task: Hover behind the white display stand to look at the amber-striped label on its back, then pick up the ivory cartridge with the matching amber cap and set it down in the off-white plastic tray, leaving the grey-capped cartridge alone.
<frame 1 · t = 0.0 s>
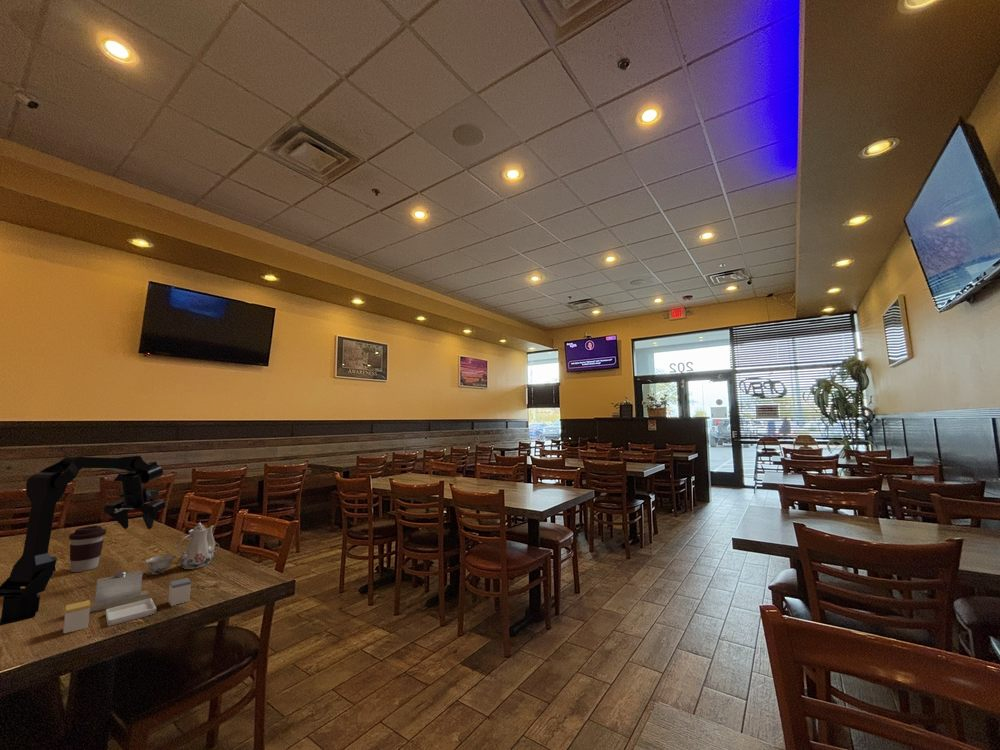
hand: (138, 528, 151), 15 cm above the table, tool pointing down, fingers open, 9 cm apart
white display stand: (117, 603, 123), on the table
amber cartridge: (75, 628, 109), on the table
grey cartridge: (178, 602, 124), on the table
chinaware: (189, 566, 156), on the table
coffee cup: (84, 569, 152), on the table
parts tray: (130, 614, 116), on the table
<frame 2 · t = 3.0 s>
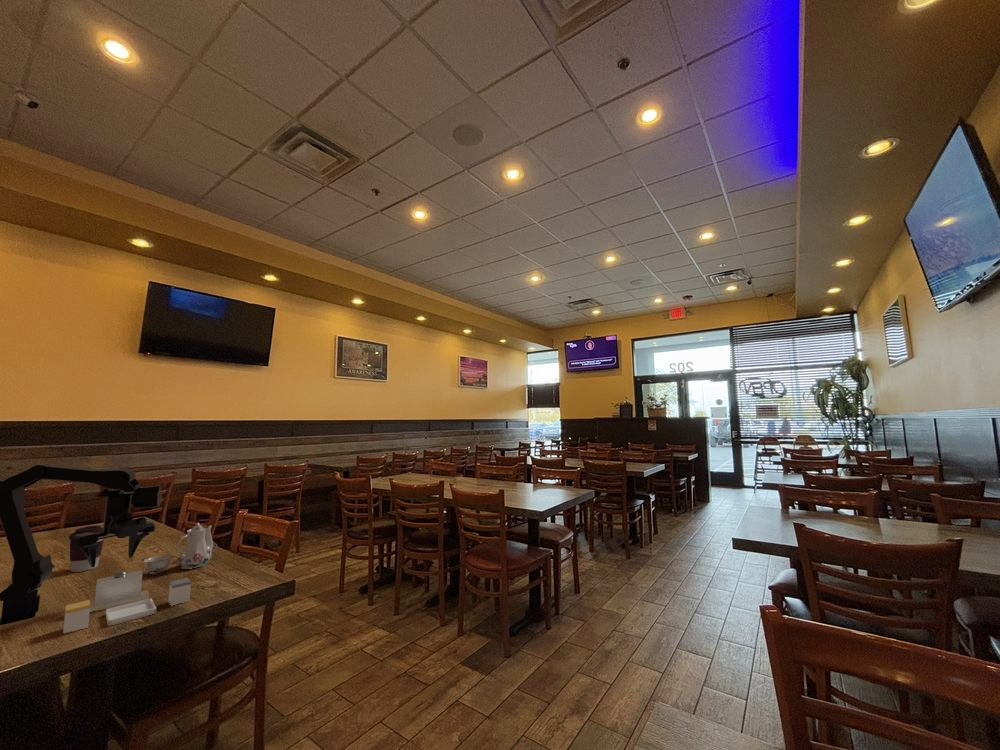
hand: (112, 562, 125), 12 cm above the table, tool pointing down, fingers open, 9 cm apart
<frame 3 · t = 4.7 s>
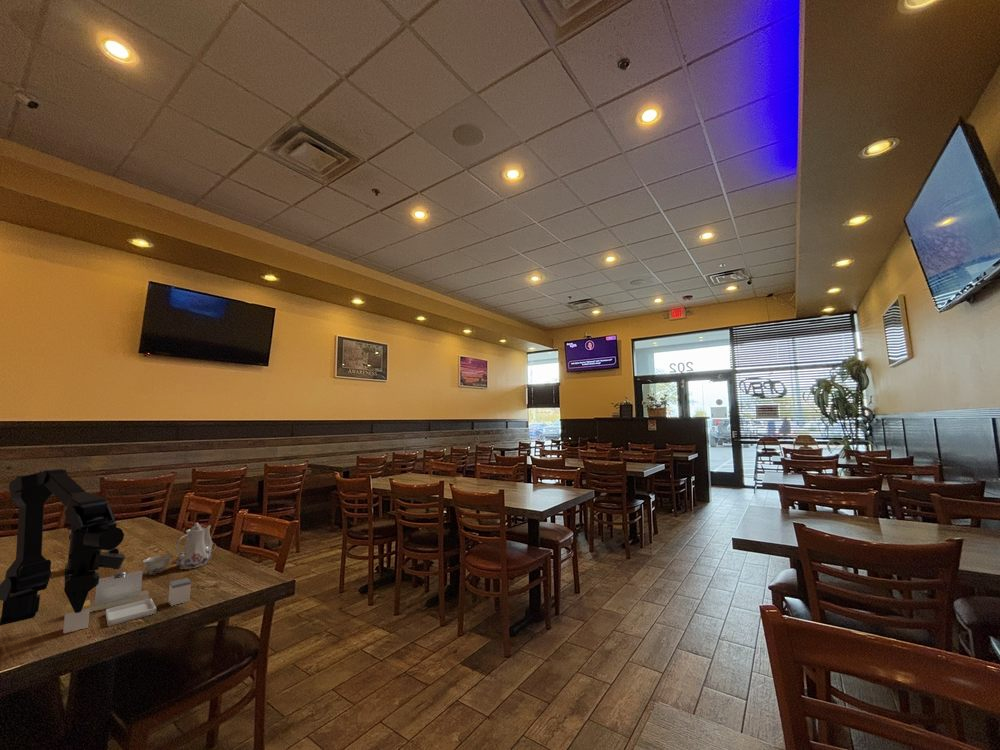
hand: (77, 606, 109), 5 cm above the table, tool pointing down, fingers open, 9 cm apart
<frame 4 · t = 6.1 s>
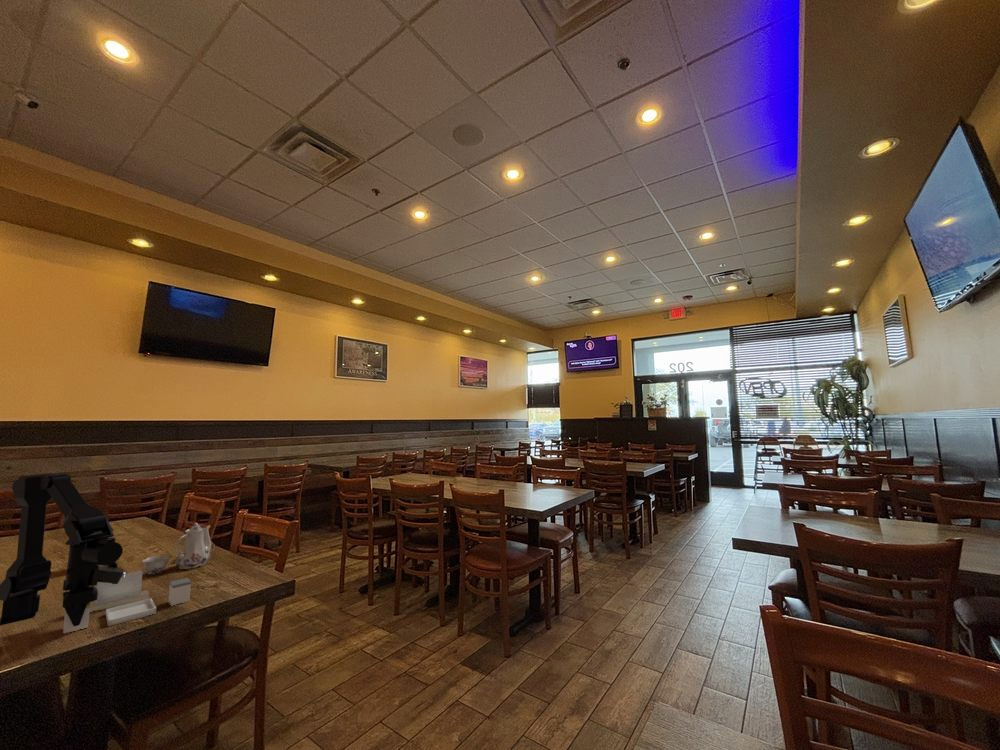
hand: (76, 622, 109), 2 cm above the table, tool pointing down, fingers closed on amber cartridge, 4 cm apart
amber cartridge: (75, 628, 109), on the table, touching gripper
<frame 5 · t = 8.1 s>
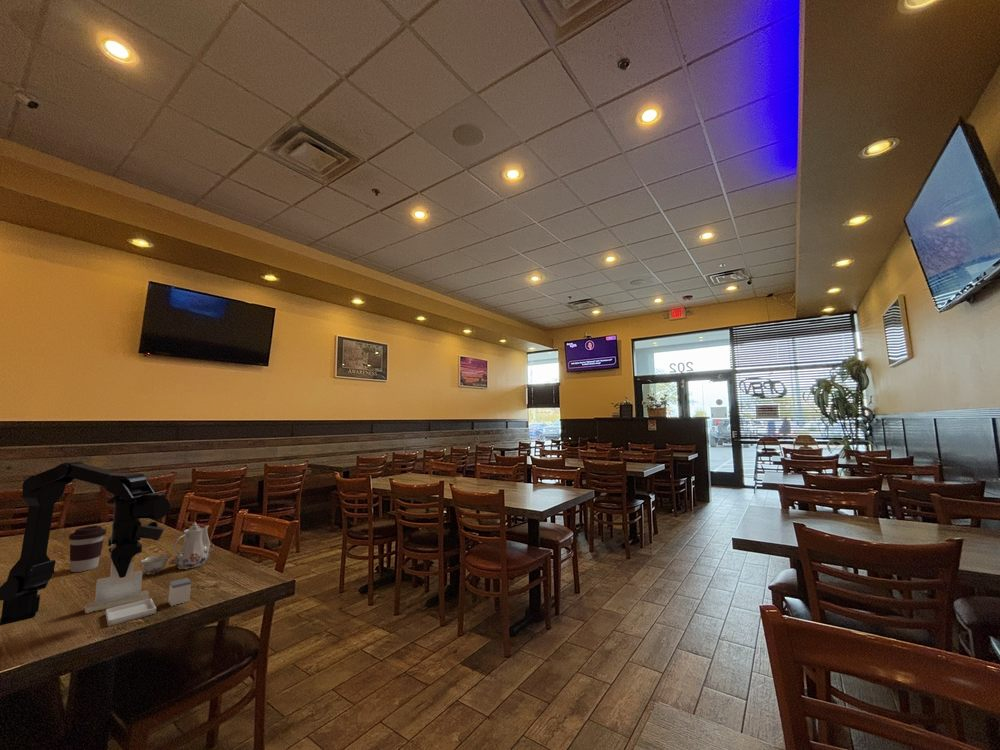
hand: (121, 575, 116), 12 cm above the table, tool pointing down, fingers closed on amber cartridge, 4 cm apart
amber cartridge: (121, 580, 115), point 10 cm above the table, touching gripper
when the fingers open (3 cm above the table, at t = 10.1 s): amber cartridge drops 1 cm, resting on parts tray.
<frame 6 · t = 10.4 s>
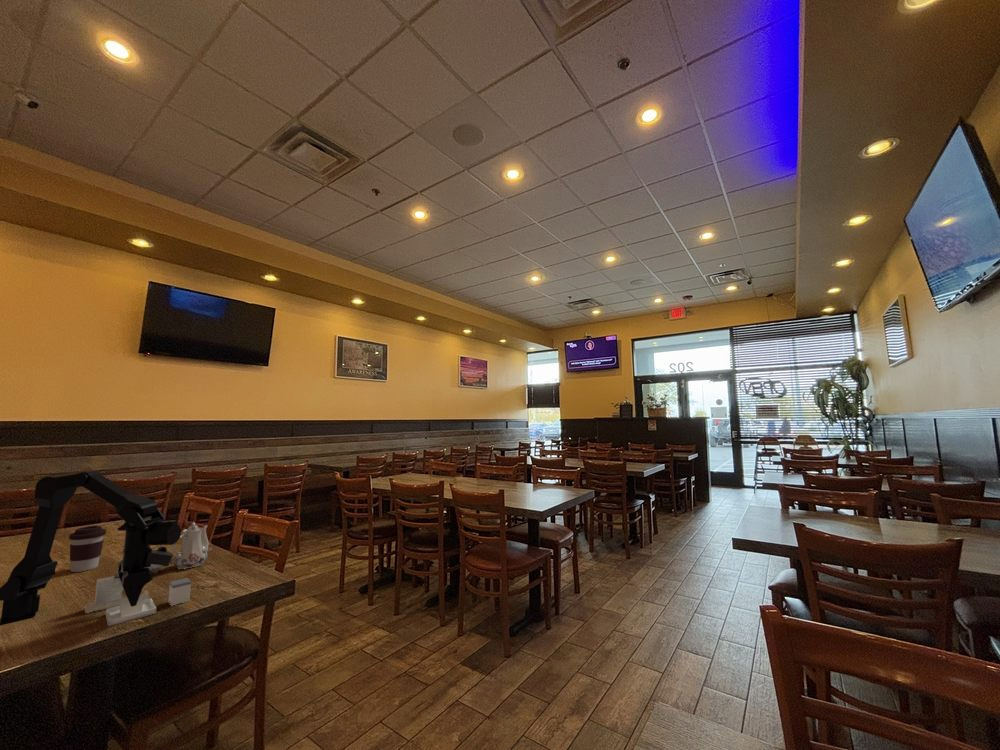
hand: (131, 601, 117), 3 cm above the table, tool pointing down, fingers open, 8 cm apart
amber cartridge: (130, 612, 117), resting on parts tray
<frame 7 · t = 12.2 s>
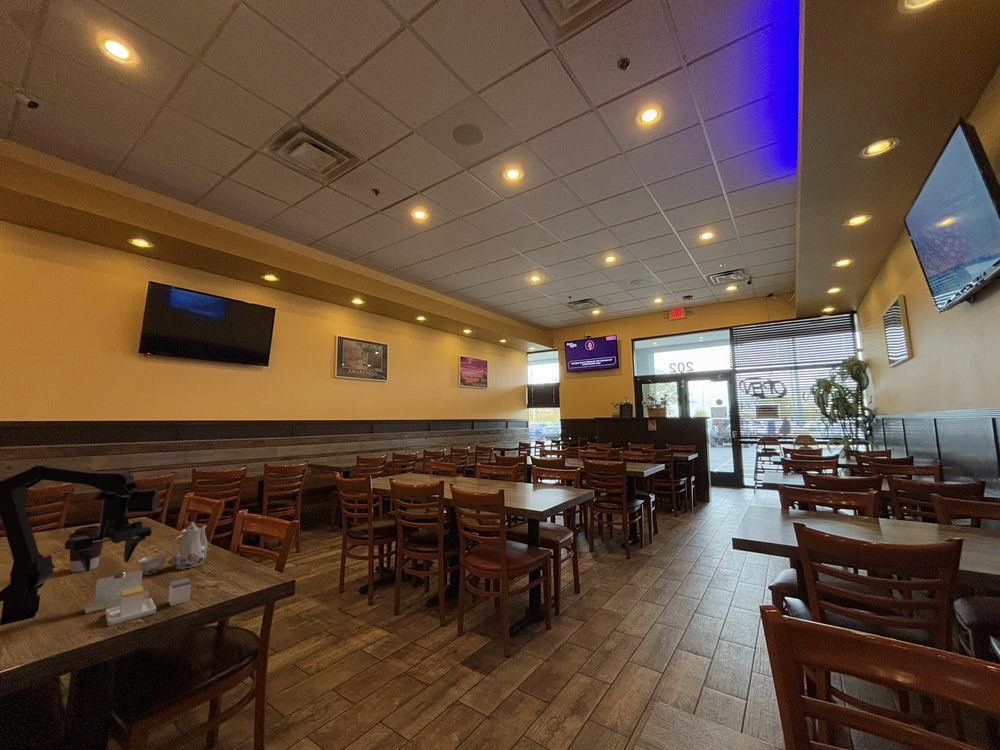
hand: (107, 566, 123), 11 cm above the table, tool pointing down, fingers open, 9 cm apart
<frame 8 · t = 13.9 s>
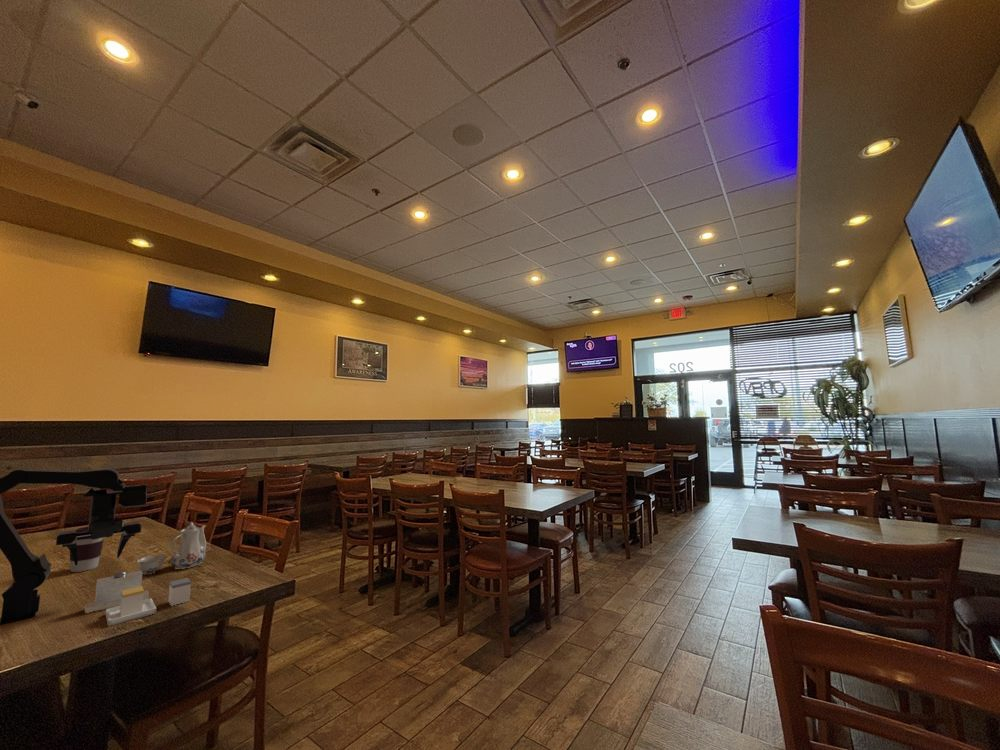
hand: (97, 561, 126), 12 cm above the table, tool pointing down, fingers open, 9 cm apart
at the end: amber cartridge 0.1 cm off-centre on the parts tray, point 0.5 cm above the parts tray's base; the gripper is holding nothing; grey cartridge moved 0.1 cm from its start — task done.
